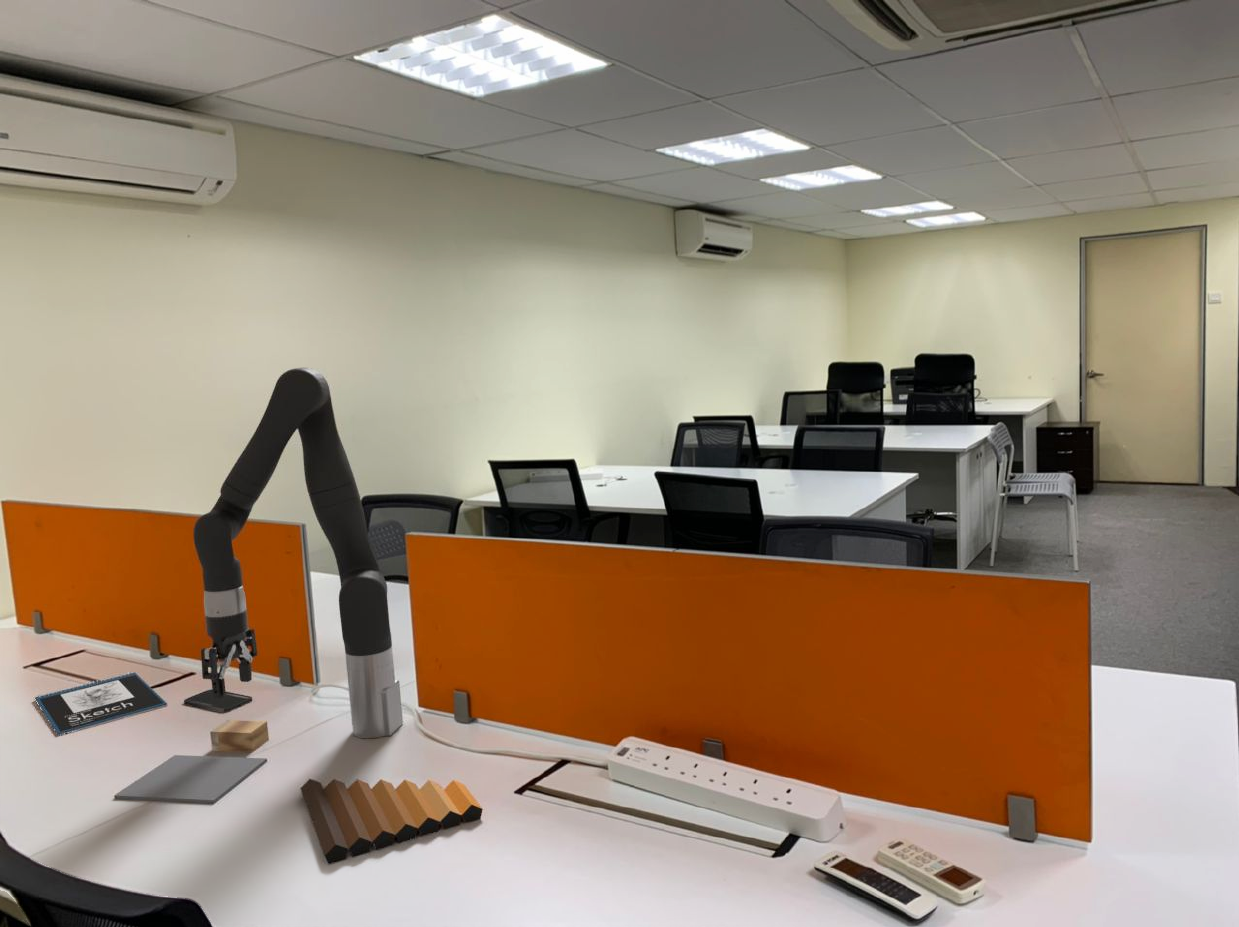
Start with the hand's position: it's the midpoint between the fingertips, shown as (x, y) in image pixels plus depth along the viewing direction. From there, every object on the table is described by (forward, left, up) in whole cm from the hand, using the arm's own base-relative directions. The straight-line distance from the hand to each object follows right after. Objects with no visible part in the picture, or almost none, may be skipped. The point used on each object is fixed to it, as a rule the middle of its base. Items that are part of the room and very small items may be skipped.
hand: (233, 688), depth 177 cm
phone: (+20, -21, -12) cm, 32 cm away
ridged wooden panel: (-42, +21, -13) cm, 49 cm away
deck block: (0, 0, -12) cm, 12 cm away
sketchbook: (+49, -19, -13) cm, 54 cm away
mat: (0, +14, -12) cm, 19 cm away
